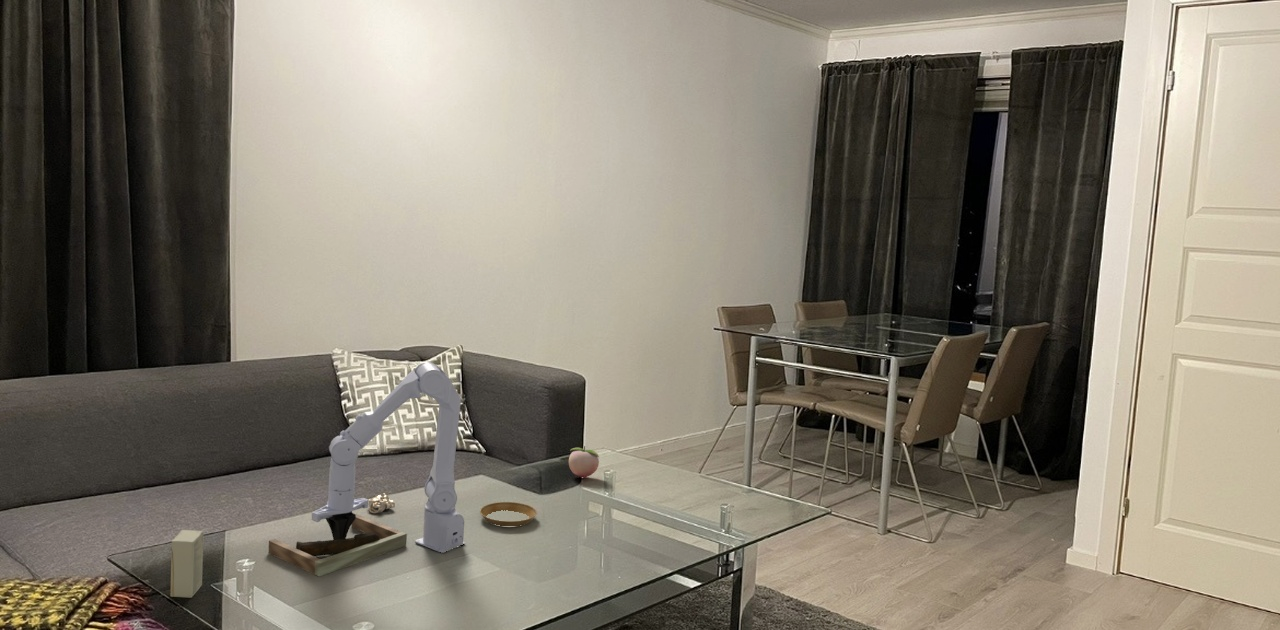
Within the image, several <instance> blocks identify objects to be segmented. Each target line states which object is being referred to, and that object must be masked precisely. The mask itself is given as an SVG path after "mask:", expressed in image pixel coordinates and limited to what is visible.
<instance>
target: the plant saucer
mask: <svg viewBox="0 0 1280 630" xmlns="http://www.w3.org/2000/svg"><path fill="white" fill-rule="evenodd" d="M501 510H503V511H504V510H505V511H506V510H508V511H514V512H519V513H523V514H526V515H527V516H529V519H526V520H521V521H499V520H494V519H490V518H487V517H486V516H487V515H488V514H491V513H492V512H496V511H501ZM479 513H480V515H481V516H482V518H483V519H484V520H485V521H488V524H490V523H492V524H496V525H500V526H520V525H523V526H525V525H524V524H526V525H528V523H530V522H531V521H532V520H533V519H534V518H535V517H536V516H537V514H538V512H537V509H536V508H534V507H533V506H531V505H529V504H525V503H520V502H513V501H499V502H493V503H489V504H485V505H483V506H482V507H481V508H480V510H479ZM492 524H491V525H492ZM520 527H521V526H520Z"/></svg>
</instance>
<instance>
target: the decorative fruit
mask: <svg viewBox="0 0 1280 630" xmlns="http://www.w3.org/2000/svg"><path fill="white" fill-rule="evenodd" d="M569 451H570V452H571V453H570V455H569V458H568V466H569V469H570V470H571V472H572V473H573V475H575V476H577V477H580V478H581V477H584V478H587V477H591V476H592V475H593V474H594V473H596V471H597V469H598V467H599V464H600V463H599V462H600V461H599V457H600V456H599V454H598V452H596V451H595V450H593V449H586V446H585V445H584V446H583V448H582V447H573V448H571V449H570V450H569Z"/></svg>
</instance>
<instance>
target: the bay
mask: <svg viewBox="0 0 1280 630" xmlns="http://www.w3.org/2000/svg"><path fill="white" fill-rule="evenodd" d="M355 514H356V519H355V520H354V521H353V523H352V524H351V526H350V528H352V529H355V530H358V531H359V532H362V533H375V534H376V535H378V536H379V538H380V540H377V541H374V542H372V543H369V544H366V545H363V546H360V547H357V548H354V549H351V550H348V551H345V552H342V553H339V554H334V555H329V556H328V557H324V558H322V559H320V558H318V557H317V556H315V557H314V556H312V555H310V554H307V553H305V552H303V551H301V550H298V549H296V547H294V546H291V545H289V544H288V543H284V542H283V541H280V540H278V539H276V538H272V539H270V540H268V554H269V555H271V556H274V557H275V558H278V559H280V560H282V561H284V562H287V563H289V564H291V565H293V566H295V567H297V568H300V569H302V570H304V571H307V572H309V573H311V574H313V575H315V576H318V577H321V576H325V575H328V574H331V573H333V572H335V571H339V570H343V569H344V568H348V567H351V566H353V565H356V564H359V563H361V562H364V561H367V560H369V559H372V558H373V559H374V558H375V557H379V556H381V555H384V554H386V553H390V552H393V551H395V550H398V549H401V548H404V547H407V539H408V538H407V536H408V533H405V532H404V531H401V530H399V529H396V528H393V527H390V526H388V525H385V524H383V523H380V522H378V521H375V520H373V519H371V518H368V517H365V516H362V515H360V514H357V513H355Z"/></svg>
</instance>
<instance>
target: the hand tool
mask: <svg viewBox="0 0 1280 630" xmlns="http://www.w3.org/2000/svg"><path fill="white" fill-rule="evenodd" d="M377 540H380V538H379V536H378V535H376V534H375V533H365V532H362V533H357V534H354V536H353V537H348V538H347V537H346V539H337V540H333V539H327V540H317V541H305V542H301V541H296V543H295V548H296V549H298V550H301V551H303V552H305V553H307V554H310V555H312V556H314V557H322V556H333V555H336V554H339V553H342V552H345V551H348V550H351V549H354V548H357V547H360V546H363V545H366V544H369V543H372V542H374V541H377Z"/></svg>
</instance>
